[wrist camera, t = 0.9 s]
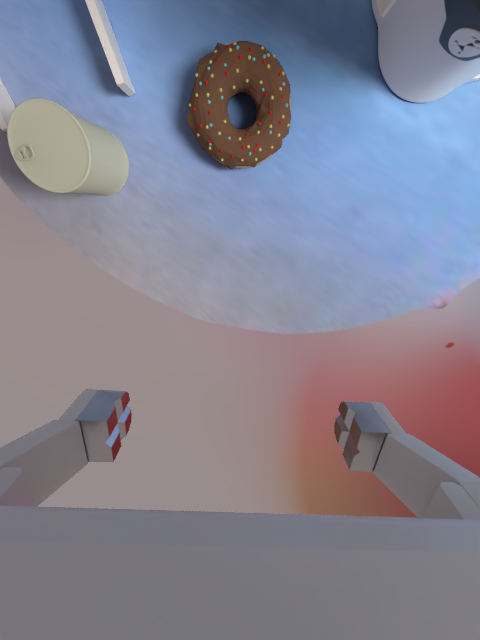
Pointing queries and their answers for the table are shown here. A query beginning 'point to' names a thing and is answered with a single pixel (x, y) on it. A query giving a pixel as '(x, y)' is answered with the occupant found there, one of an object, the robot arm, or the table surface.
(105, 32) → the tray
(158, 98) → the table surface
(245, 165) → the donut
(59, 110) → the can
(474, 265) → the table surface
